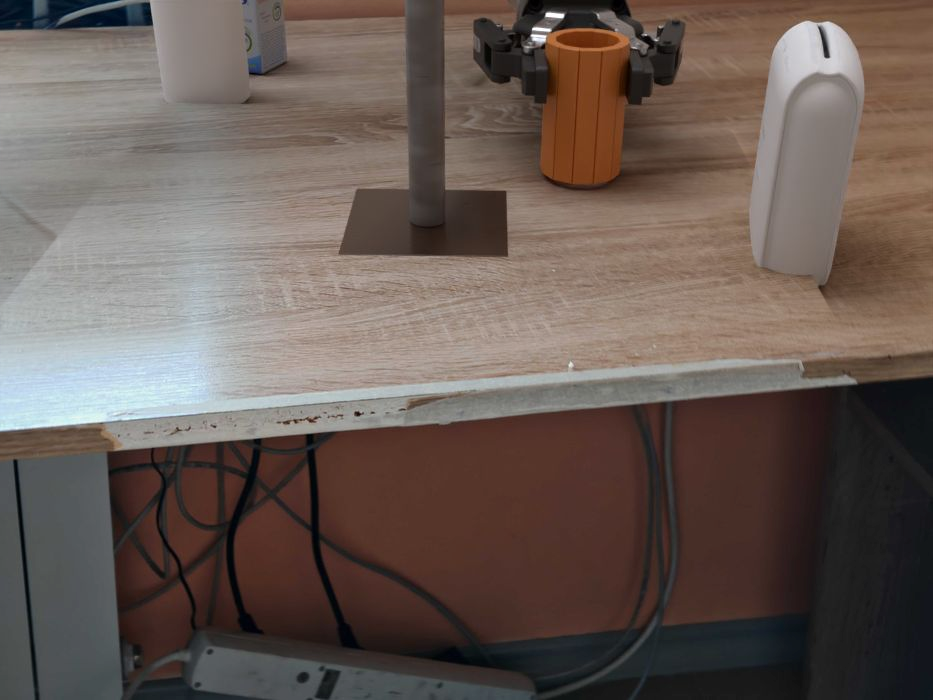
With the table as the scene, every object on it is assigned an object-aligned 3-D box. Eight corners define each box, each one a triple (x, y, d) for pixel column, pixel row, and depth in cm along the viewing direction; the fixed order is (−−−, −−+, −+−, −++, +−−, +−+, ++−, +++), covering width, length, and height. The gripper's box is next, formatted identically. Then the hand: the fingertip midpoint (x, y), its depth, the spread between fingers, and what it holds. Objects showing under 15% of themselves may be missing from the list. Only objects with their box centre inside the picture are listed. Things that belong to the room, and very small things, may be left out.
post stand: (339, 274, 58) (318, -62, 49) (357, 206, 65) (342, -94, 57) (507, 276, 58) (517, -60, 49) (506, 208, 65) (514, -92, 56)
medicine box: (179, 65, 90) (165, -43, 86) (208, 51, 94) (196, -54, 89) (263, 75, 88) (253, -36, 83) (289, 61, 92) (281, -46, 87)
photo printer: (743, 212, 65) (774, 1, 59) (817, 218, 64) (856, 5, 58) (747, 291, 56) (784, 54, 50) (833, 298, 56) (882, 59, 49)
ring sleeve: (542, 184, 65) (547, 50, 60) (539, 154, 69) (544, 27, 65) (622, 185, 64) (634, 51, 60) (615, 155, 69) (625, 28, 64)
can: (191, 121, 78) (168, -53, 72) (149, 99, 83) (124, -67, 76) (267, 102, 82) (252, -64, 76) (223, 82, 86) (205, -77, 80)
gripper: (469, -45, 74) (463, 19, 59) (679, -43, 74) (725, 21, 59) (468, 64, 78) (462, 149, 63) (668, 66, 78) (708, 152, 63)
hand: (589, 87), depth 61 cm, fingers closed on ring sleeve, 4 cm apart
